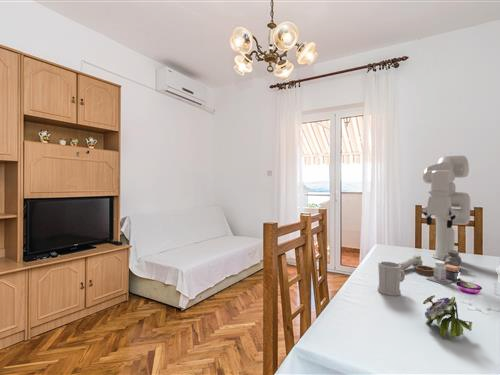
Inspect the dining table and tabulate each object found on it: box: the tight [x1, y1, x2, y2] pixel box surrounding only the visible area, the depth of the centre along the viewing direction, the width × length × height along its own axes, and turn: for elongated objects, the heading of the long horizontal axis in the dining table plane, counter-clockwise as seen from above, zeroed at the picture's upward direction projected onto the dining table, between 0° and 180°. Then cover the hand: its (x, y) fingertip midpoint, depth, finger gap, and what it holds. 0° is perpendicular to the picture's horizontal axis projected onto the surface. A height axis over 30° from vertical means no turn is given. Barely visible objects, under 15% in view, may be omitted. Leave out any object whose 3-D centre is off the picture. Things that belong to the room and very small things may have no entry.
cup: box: [377, 261, 406, 297], centre depth 118 cm, size 10×9×12 cm
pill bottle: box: [433, 260, 446, 281], centre depth 132 cm, size 5×5×8 cm
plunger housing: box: [446, 270, 459, 283], centre depth 135 cm, size 6×6×4 cm
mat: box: [426, 276, 455, 286], centre depth 132 cm, size 8×8×1 cm
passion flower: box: [422, 295, 473, 340], centre depth 87 cm, size 13×12×14 cm
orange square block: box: [445, 264, 460, 272], centre depth 135 cm, size 5×5×5 cm
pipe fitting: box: [443, 249, 462, 267], centre depth 151 cm, size 12×8×10 cm
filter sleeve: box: [414, 264, 434, 277], centre depth 144 cm, size 9×9×2 cm
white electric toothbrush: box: [397, 254, 424, 272], centre depth 151 cm, size 5×7×25 cm
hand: (439, 226), depth 145 cm, fingers open, 9 cm apart
